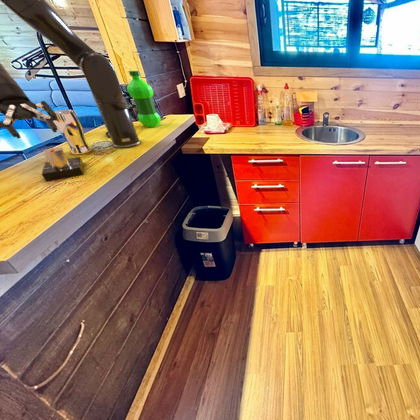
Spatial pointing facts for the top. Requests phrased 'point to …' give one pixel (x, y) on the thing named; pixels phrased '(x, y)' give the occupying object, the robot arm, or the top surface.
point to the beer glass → (71, 131)
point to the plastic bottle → (143, 100)
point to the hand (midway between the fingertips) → (37, 133)
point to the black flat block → (63, 170)
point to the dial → (56, 158)
